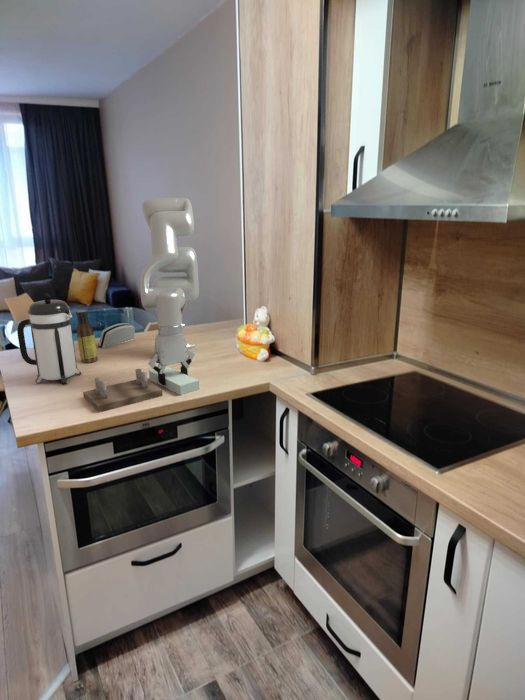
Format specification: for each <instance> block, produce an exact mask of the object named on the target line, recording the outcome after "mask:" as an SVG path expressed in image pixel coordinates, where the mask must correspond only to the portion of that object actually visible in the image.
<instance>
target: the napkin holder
mask: <svg viewBox="0 0 525 700" xmlns="http://www.w3.org/2000/svg"><path fill="white" fill-rule="evenodd" d="M135 329H136V328H135V327H134V325H132V324H130V323H125V322H123V323H116V324H113V325H111V326H108V327H106V328H104V329H103V330H102V331H101V335H100V339H99V342H97V343H96V348H97V347H101V348H102V349H107V347H108V348H111V347H114V346H113V345H115V346H117V345H116V344H118V345H120V344H119V343H122V342H125V341H128V340H131V339H134V340H135V334H136V333H135V332H136V331H135ZM128 342H129V341H128ZM125 343H126V342H125ZM122 344H123V343H122ZM110 346H111V347H110Z"/></svg>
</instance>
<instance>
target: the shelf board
mask: <svg viewBox="0 0 525 700" xmlns="http://www.w3.org/2000/svg"><path fill="white" fill-rule="evenodd" d="M163 373H164V374H165V381H166V384H165V385H162V384H161V383H160V382H159V380H158V372H157V371H155V370H154V369H153V368H151V369H149V370H148V378H149V380H150V381H152V382H154V383H155V384H158V385H159V384H160V385H159V386H161V385H162V386H161V387H163V386H164V387H163V388H165V387H166V388H165V389H167V388H168V389H167V390H169V391H172V392H173V393H175V392H176V393H175V394H177V395H179V396H183V394H184V395H187V394H191V393H193V392H197V391H199V390H200V380H199V379H197V378H195V377H192V376H190V375H189V374H188V375H186V374H184V373H181V371H180V370H177V369H174V368H172V367H170V366H169V365H167V366H166V367H165V369H164V372H163ZM190 392H191V393H190Z"/></svg>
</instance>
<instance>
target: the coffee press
mask: <svg viewBox="0 0 525 700" xmlns="http://www.w3.org/2000/svg"><path fill="white" fill-rule="evenodd" d="M42 297H43V300H38V301H35V302H33V303H32V304H30V305H29V307H28V310H27V314H28V315H29V316H28V317H29V318H28V319H24V320H23V319H22V321H20V322H19V323H18V325H17V329H16V330H17V331H16V332H17V333H16V334H17V339H18V346H19V350H20V351H19V352H20V355H21V357H22V359H23V361H24V362H25V363H26V364H29V365H31V366H36V368H37V370H36V371H37V377H36V378H35V379H34V381H35V383H36V384H38V385H40V384H41V383H42V382H43V381H44V380H47V381H58V380H60V382H61V385H62V386H64V385H67V384H68V383H67V379H68V378H70V377H72V376H74V375H76V376H81V375H82V371H79V368H78V365H77V360H76V358H77V357H76V349H75V345H74V344H75V343H74V337H73V336H74V335H73V329H72V327H73V326H72V318H73V314H72V313H71V310H70V308H71V307H70V306H69V305H68V304H67V303H66V302H65V300H61V299H51V297H52V296H51V294H50V293H47V292H46V293H44V294H43V296H42ZM27 325H30V331H31V332H30V333H31V338H32V344H33V351H34V355H35V356H34V357H35V359H33V358H31V357H30V356H29V354H28V350H27V345H26V339H25V332H24V331H25V330H24V329H25V327H26V326H27ZM77 370H78V371H79V373H77ZM39 377H40V378H41V379H40V380H39ZM38 380H39V381H38ZM37 381H38V382H37ZM39 383H40V384H39Z"/></svg>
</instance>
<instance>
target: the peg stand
mask: <svg viewBox="0 0 525 700" xmlns="http://www.w3.org/2000/svg"><path fill="white" fill-rule="evenodd" d="M147 373H148V372H146V371H142V369H141V368H136V369H135V379H133V380H128V381H125V382H124V381H123V382H119V383H115V384H111V385H107V382H106V381H105V380H102V377H95V378H94V383H95V388H94V389H90V390H86V391H85V390H84V391H83V392H82V395H83V399H84V400H85V401H87V402H88V404H90V406H92V408H94V409H95V410H96V411H97V412H98V413H103V412H105V411H110V410H114V409H117V408H121V407H125V405H126V406H128V405H132V404H136V402H137V403H141V402H144V400H145V401H147V400H151V398H152V399H155V398H159V396H160V397H163V389H162V388H161V387H159V386H157V385H155V384H154V383H153V382H151V381H149V380H148V375H147ZM140 401H141V402H140Z"/></svg>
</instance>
